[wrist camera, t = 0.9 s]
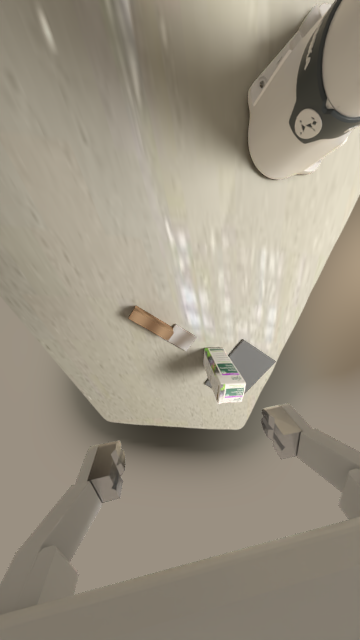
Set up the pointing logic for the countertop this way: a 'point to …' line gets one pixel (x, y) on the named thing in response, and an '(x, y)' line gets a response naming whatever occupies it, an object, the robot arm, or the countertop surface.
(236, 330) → the countertop surface
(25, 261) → the countertop surface
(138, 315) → the tan wooden bar
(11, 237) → the countertop surface
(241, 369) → the mat
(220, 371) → the syrup box
